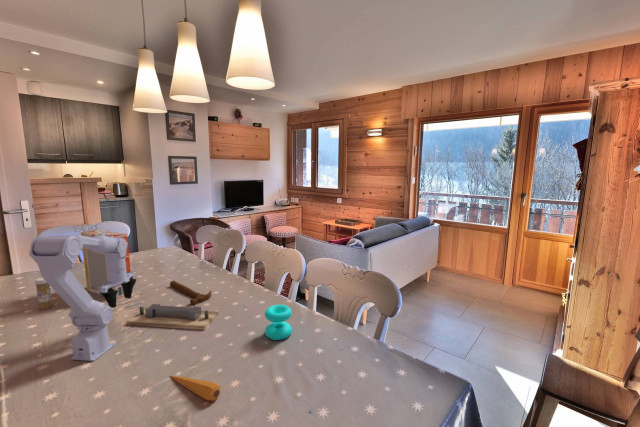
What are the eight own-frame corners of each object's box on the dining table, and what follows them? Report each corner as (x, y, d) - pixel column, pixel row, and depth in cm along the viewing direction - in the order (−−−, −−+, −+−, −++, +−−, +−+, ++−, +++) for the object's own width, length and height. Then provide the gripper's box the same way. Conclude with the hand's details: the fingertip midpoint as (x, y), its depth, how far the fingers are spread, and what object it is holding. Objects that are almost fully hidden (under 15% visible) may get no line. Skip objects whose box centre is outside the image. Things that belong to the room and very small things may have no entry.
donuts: (289, 301, 116) (293, 313, 106) (289, 325, 117) (294, 339, 108) (263, 304, 113) (265, 317, 103) (264, 328, 114) (266, 343, 105)
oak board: (204, 329, 113) (203, 319, 113) (127, 324, 116) (126, 314, 116) (218, 314, 125) (217, 304, 124) (147, 310, 128) (146, 300, 127)
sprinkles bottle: (36, 310, 127) (32, 280, 125) (42, 305, 131) (38, 277, 129) (49, 309, 128) (45, 279, 126) (55, 304, 133) (51, 276, 131)
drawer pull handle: (195, 320, 117) (194, 312, 116) (145, 317, 119) (145, 309, 118) (201, 314, 122) (201, 306, 121) (153, 311, 124) (153, 304, 123)
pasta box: (132, 292, 146) (127, 233, 142) (115, 299, 139) (109, 237, 134) (104, 284, 156) (98, 229, 151) (87, 290, 148) (80, 232, 144)
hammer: (164, 288, 152) (193, 306, 133) (163, 283, 151) (192, 300, 133) (186, 282, 161) (216, 298, 142) (186, 277, 160) (216, 292, 142)
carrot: (221, 400, 80) (224, 382, 81) (208, 405, 76) (212, 386, 77) (174, 382, 89) (177, 366, 91) (160, 385, 86) (164, 368, 87)
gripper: (111, 276, 103) (115, 312, 105) (140, 262, 117) (143, 294, 119) (92, 275, 104) (97, 311, 106) (123, 261, 118) (127, 293, 120)
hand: (120, 302), depth 113 cm, fingers open, 7 cm apart
